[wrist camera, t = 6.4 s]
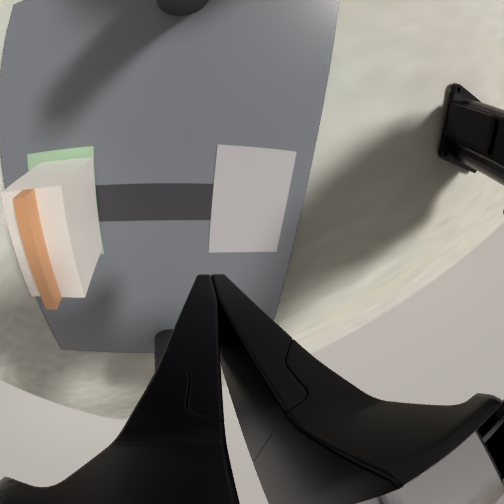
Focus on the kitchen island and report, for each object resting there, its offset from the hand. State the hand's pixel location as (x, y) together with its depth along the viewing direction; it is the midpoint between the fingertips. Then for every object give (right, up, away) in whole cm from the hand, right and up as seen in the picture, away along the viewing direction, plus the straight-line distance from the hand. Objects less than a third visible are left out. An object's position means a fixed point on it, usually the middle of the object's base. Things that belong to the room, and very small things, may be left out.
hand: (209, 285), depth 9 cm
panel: (-4, +4, +5) cm, 8 cm away
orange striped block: (-8, +3, +3) cm, 9 cm away
